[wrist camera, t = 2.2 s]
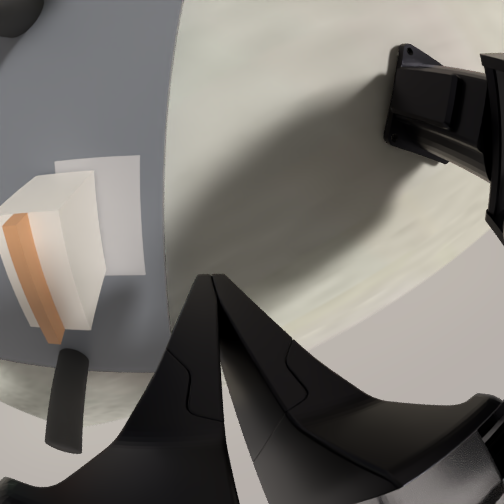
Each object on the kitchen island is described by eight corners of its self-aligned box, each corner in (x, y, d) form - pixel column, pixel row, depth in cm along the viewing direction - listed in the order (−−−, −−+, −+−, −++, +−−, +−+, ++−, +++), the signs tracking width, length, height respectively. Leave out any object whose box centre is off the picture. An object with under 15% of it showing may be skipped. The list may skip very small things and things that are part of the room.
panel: (190, -29, 7) (192, -40, 6) (173, 358, 19) (175, 372, 18) (-68, 52, 2) (-79, 53, 1) (-4, 347, 15) (-7, 358, 14)
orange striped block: (94, 170, 10) (48, 223, 6) (106, 269, 12) (87, 346, 8) (36, 175, 9) (-23, 228, 5) (55, 269, 11) (25, 341, 8)
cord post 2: (83, 349, 15) (72, 444, 9) (93, 368, 16) (87, 455, 11) (54, 347, 14) (38, 437, 9) (65, 366, 16) (55, 450, 10)
